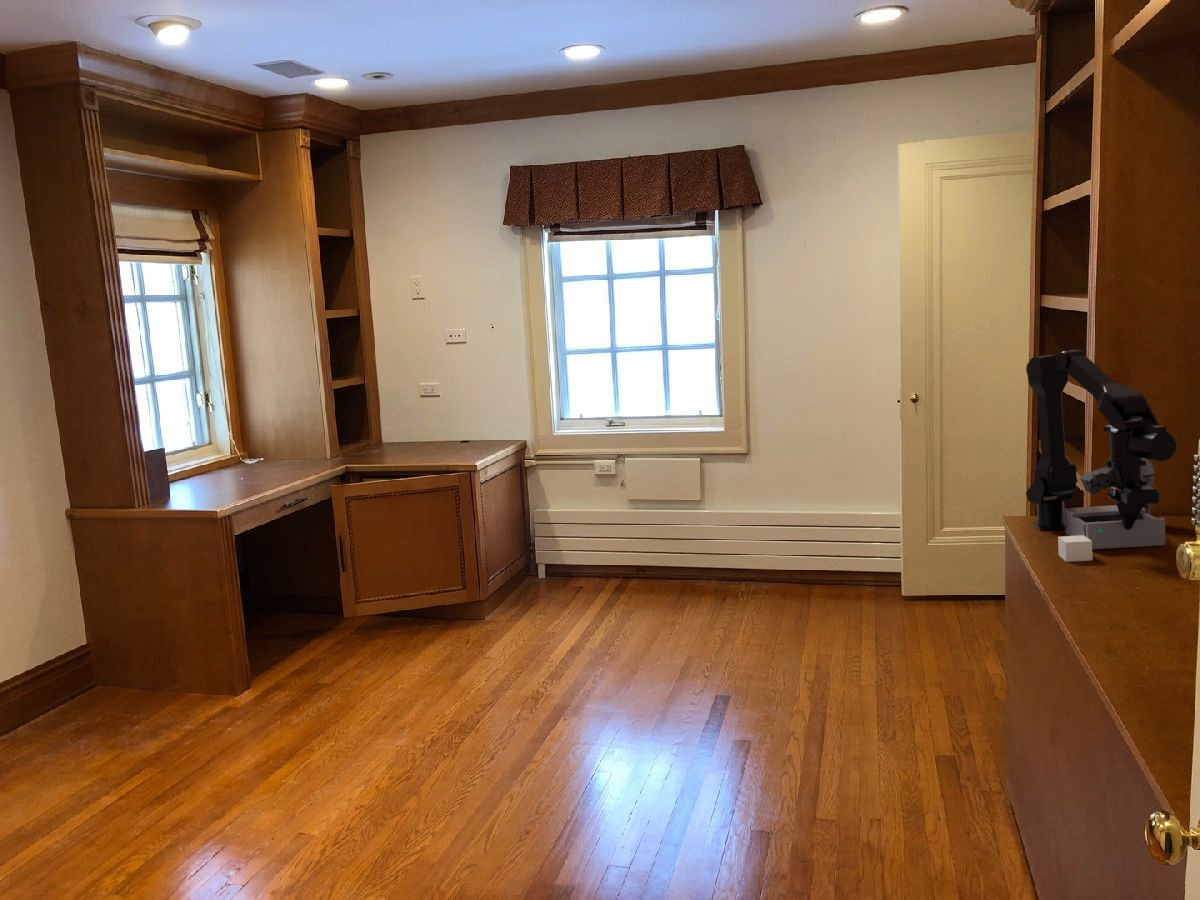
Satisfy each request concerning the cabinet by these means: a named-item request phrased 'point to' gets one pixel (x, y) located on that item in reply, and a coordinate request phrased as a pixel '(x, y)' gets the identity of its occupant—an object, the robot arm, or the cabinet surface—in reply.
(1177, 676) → the cabinet surface
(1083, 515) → the housing
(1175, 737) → the cabinet surface
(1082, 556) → the block
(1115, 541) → the tray
